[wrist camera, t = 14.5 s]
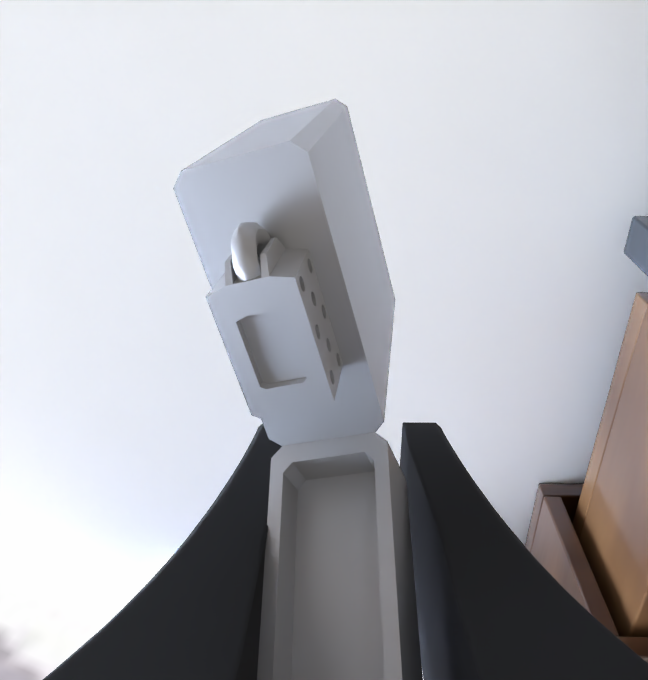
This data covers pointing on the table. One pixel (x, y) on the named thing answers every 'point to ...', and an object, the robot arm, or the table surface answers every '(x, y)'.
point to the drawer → (622, 471)
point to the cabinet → (570, 554)
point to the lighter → (313, 389)
